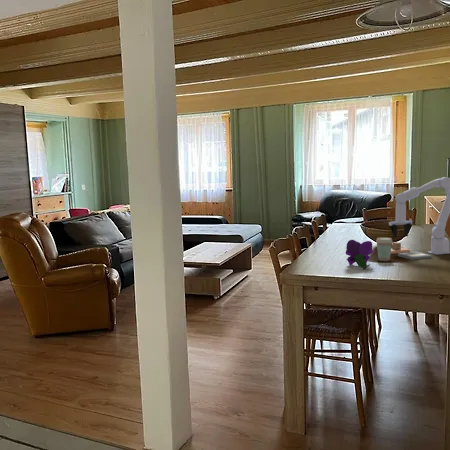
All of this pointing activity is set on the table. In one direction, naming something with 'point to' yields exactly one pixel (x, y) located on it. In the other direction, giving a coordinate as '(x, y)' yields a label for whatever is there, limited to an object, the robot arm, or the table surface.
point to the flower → (359, 252)
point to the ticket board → (414, 255)
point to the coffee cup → (384, 248)
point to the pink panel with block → (398, 248)
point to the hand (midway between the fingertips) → (400, 236)
